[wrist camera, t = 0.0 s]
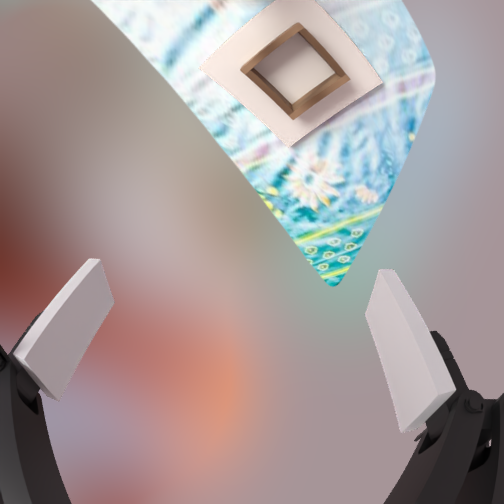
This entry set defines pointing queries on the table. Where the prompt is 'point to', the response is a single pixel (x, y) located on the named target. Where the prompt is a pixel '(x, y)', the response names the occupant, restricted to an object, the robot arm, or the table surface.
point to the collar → (312, 95)
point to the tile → (291, 66)
